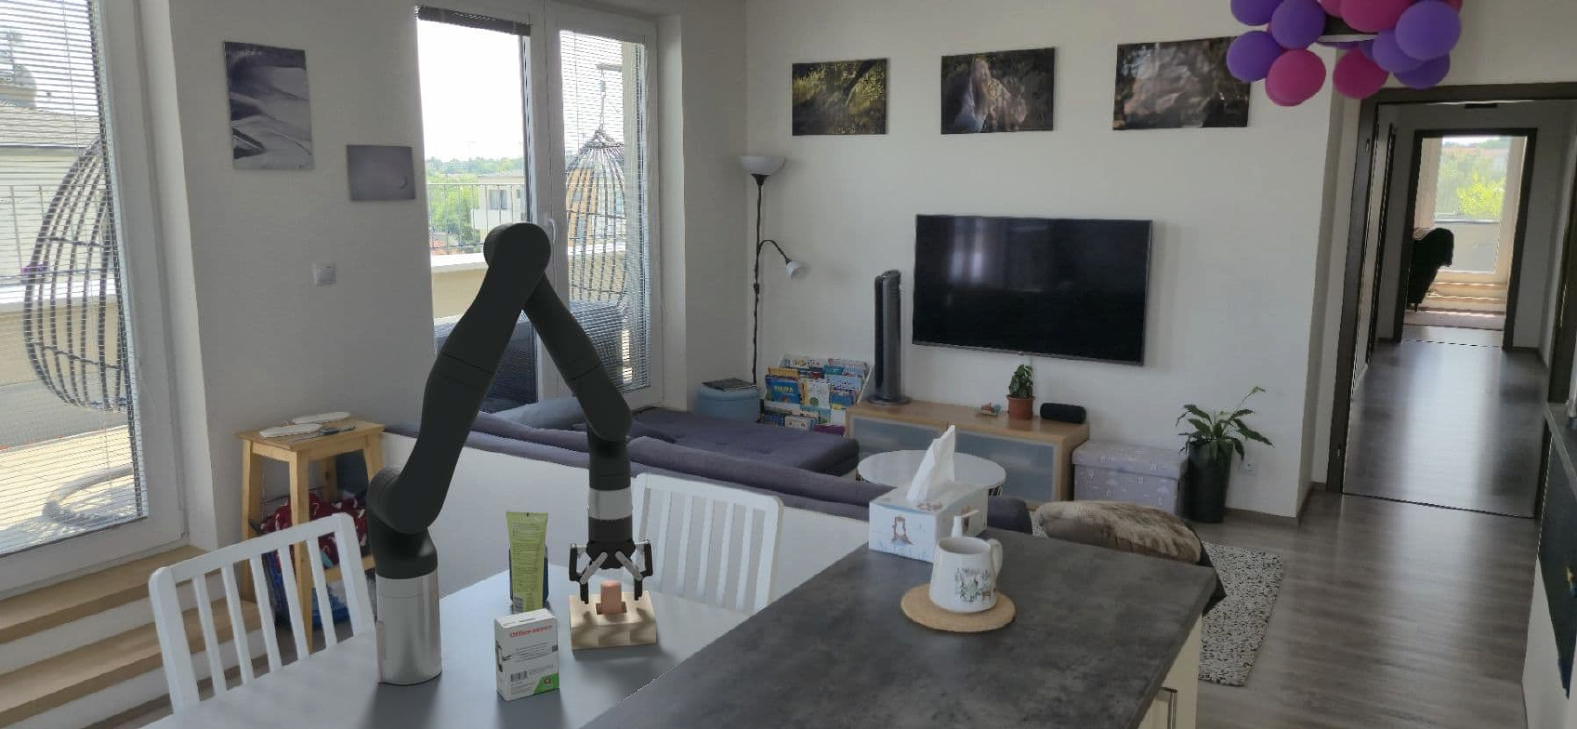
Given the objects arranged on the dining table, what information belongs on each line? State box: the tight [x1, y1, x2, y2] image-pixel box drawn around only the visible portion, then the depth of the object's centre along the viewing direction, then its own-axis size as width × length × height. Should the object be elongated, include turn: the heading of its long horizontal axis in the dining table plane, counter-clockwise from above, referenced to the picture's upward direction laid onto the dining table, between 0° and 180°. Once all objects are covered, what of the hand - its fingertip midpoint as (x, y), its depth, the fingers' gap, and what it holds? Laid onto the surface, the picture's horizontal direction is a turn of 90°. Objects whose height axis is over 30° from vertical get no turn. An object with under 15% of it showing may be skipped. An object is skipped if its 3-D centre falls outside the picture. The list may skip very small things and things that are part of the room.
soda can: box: [508, 543, 550, 605], centre depth 204 cm, size 7×7×12 cm
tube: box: [505, 510, 549, 615], centre depth 196 cm, size 6×5×20 cm
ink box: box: [493, 607, 561, 702], centre depth 170 cm, size 9×5×12 cm, turn 123°
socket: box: [568, 590, 657, 651], centre depth 193 cm, size 14×14×4 cm
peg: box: [599, 580, 623, 615], centre depth 192 cm, size 4×4×8 cm
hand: (611, 600), depth 192 cm, fingers open, 8 cm apart
